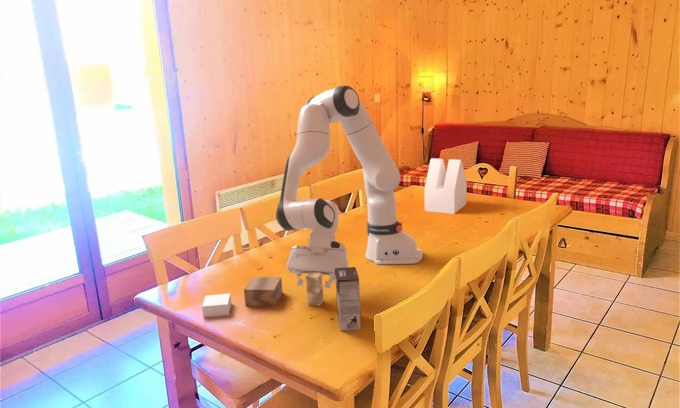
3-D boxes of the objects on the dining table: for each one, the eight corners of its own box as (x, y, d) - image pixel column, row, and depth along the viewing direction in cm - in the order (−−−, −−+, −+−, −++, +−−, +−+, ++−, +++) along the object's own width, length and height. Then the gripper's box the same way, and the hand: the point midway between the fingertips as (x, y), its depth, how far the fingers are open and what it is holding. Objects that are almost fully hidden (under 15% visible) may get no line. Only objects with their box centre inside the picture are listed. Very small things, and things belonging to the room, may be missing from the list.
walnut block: (282, 293, 178) (281, 277, 177) (275, 306, 169) (273, 289, 167) (254, 293, 180) (252, 277, 178) (245, 306, 170) (243, 289, 169)
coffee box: (337, 316, 160) (334, 267, 155) (358, 314, 160) (355, 265, 156) (339, 331, 151) (336, 280, 147) (361, 329, 151) (359, 278, 147)
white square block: (231, 304, 172) (230, 293, 171) (229, 315, 165) (227, 304, 164) (207, 306, 172) (205, 295, 171) (203, 318, 164) (201, 306, 163)
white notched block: (454, 214, 255) (454, 163, 249) (424, 211, 263) (424, 162, 256) (466, 204, 271) (466, 156, 264) (438, 201, 279) (438, 155, 272)
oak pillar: (323, 300, 171) (321, 272, 168) (319, 306, 167) (317, 277, 164) (311, 299, 172) (309, 271, 169) (308, 305, 168) (305, 276, 165)
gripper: (288, 241, 174) (280, 280, 167) (347, 244, 168) (341, 284, 162) (294, 249, 179) (286, 287, 173) (351, 252, 174) (345, 291, 167)
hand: (313, 286), depth 167 cm, fingers open, 8 cm apart
